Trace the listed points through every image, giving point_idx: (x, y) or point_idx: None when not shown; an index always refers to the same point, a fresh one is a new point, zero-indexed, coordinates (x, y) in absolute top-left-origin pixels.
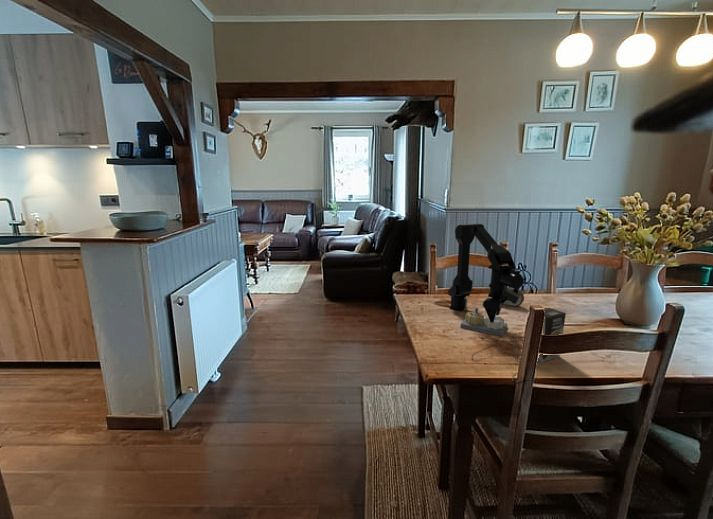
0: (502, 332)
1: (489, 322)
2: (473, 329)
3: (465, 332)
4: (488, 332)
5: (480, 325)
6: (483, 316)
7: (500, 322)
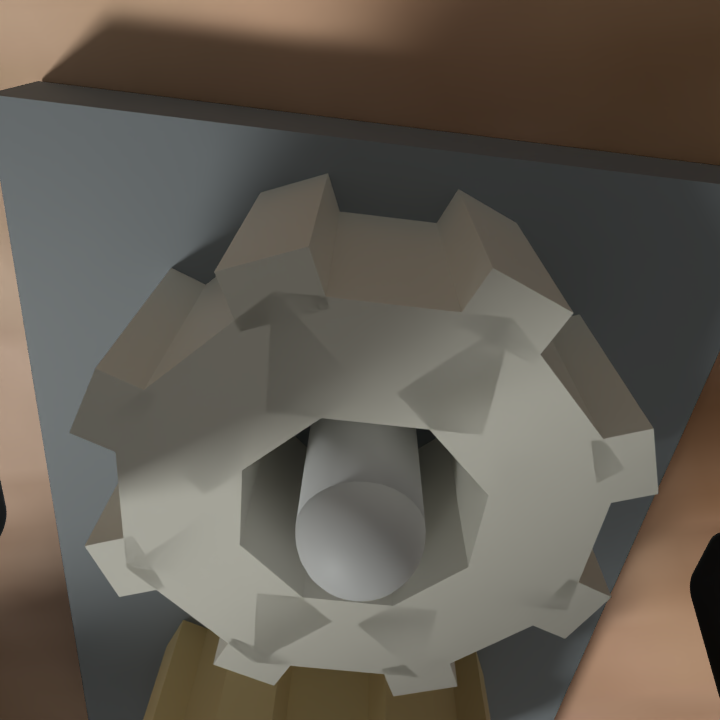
0: (613, 160)
1: (585, 569)
2: None
3: (691, 678)
4: None
5: None
6: (281, 710)
7: (533, 334)
